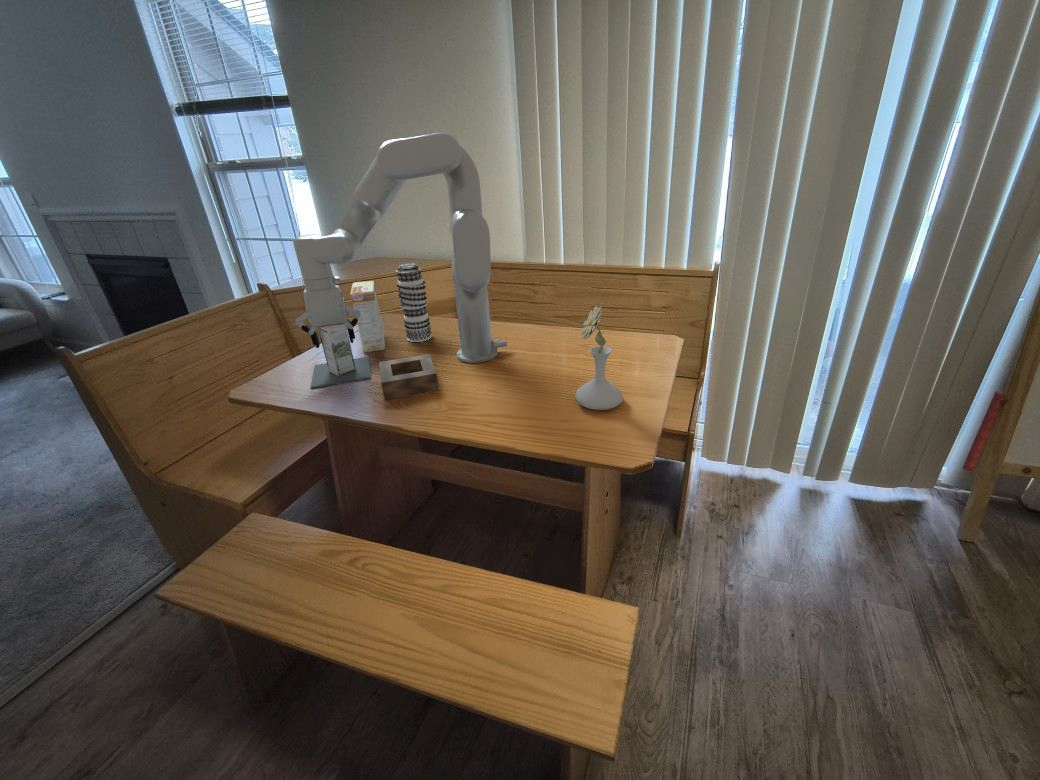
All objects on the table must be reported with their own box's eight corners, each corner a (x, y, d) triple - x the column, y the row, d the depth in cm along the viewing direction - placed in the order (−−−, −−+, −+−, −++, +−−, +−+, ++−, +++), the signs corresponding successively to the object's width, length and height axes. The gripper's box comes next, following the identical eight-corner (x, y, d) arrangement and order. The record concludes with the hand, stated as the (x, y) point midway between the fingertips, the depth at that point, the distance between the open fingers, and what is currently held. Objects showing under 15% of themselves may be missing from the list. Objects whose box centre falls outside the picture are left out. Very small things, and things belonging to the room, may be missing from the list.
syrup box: (346, 365, 135) (335, 319, 129) (357, 370, 132) (345, 322, 125) (328, 371, 132) (316, 324, 125) (339, 376, 128) (326, 328, 122)
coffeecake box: (364, 337, 158) (352, 282, 149) (385, 334, 160) (374, 280, 151) (362, 352, 146) (349, 293, 137) (385, 349, 147) (373, 290, 138)
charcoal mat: (369, 358, 141) (369, 356, 141) (371, 378, 128) (370, 376, 127) (315, 366, 137) (314, 365, 137) (310, 389, 123) (310, 387, 123)
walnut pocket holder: (431, 369, 131) (429, 354, 129) (439, 390, 119) (436, 373, 117) (382, 378, 127) (378, 362, 125) (384, 400, 116) (381, 382, 113)
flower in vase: (581, 389, 116) (583, 293, 104) (626, 395, 112) (633, 296, 101) (567, 414, 105) (568, 310, 94) (616, 421, 101) (623, 314, 90)
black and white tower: (434, 341, 152) (423, 266, 140) (406, 344, 150) (392, 269, 138) (432, 332, 160) (422, 260, 148) (405, 335, 158) (393, 263, 146)
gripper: (353, 276, 126) (366, 335, 134) (286, 284, 121) (304, 344, 129) (353, 282, 119) (367, 343, 127) (282, 291, 115) (301, 353, 123)
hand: (335, 343), depth 128 cm, fingers open, 8 cm apart
